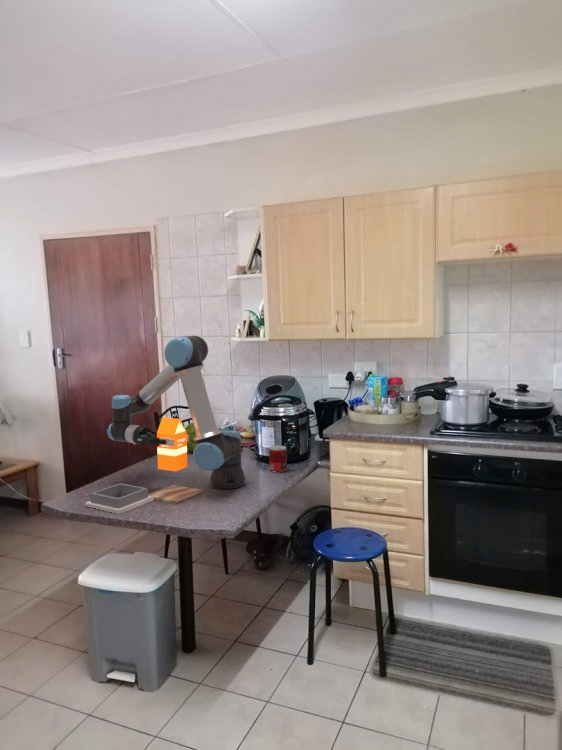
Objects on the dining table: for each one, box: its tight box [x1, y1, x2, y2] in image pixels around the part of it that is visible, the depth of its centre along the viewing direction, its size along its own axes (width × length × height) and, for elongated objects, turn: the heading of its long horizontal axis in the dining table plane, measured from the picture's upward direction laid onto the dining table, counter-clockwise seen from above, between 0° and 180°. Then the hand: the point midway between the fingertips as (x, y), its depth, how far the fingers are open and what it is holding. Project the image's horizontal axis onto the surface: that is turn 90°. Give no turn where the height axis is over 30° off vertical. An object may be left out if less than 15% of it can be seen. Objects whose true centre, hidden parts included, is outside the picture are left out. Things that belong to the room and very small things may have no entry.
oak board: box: [148, 484, 204, 504], centre depth 227 cm, size 16×16×1 cm
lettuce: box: [184, 422, 196, 452], centre depth 304 cm, size 17×23×16 cm
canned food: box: [268, 445, 288, 472], centre depth 260 cm, size 8×8×11 cm
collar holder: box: [84, 482, 155, 515], centre depth 218 cm, size 18×18×5 cm
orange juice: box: [156, 417, 188, 472], centre depth 225 cm, size 8×9×20 cm
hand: (181, 440), depth 223 cm, fingers closed on orange juice, 8 cm apart
